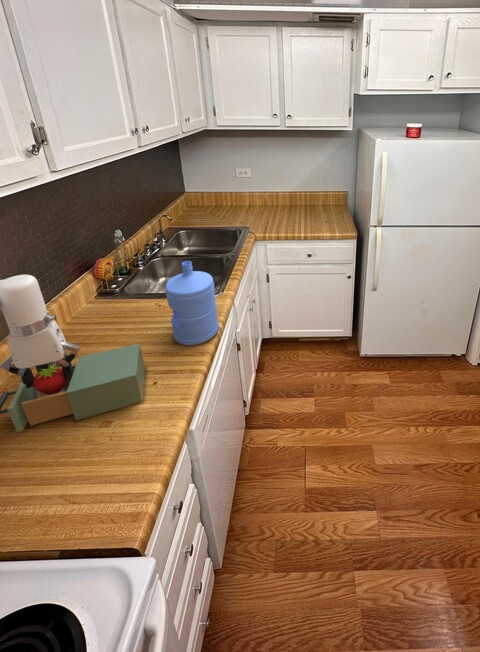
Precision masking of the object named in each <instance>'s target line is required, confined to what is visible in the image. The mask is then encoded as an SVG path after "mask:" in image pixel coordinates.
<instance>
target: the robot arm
mask: <svg viewBox="0 0 480 652" xmlns="http://www.w3.org/2000/svg"><path fill="white" fill-rule="evenodd" d="M0 310H1V311H2V314H3V316H4V319H5V321H6V324H7V327H8V329H9V334H8V346H9V351H10V352H9V353H10V355H9V356H7V357H6V358H5V359H4V360H3V361H2V362H1V363H0V368H1V369H4V370H5V371H8V372H9V373H11V374H14V375H16V376H17V377H18V378H20V379H21V382H22V381H23V384H26V387H27V389H28V388H30V387H31V386H32V384H33V383H32V381H33V378H34V377H35V375H34V373H33V371H32V368H33V367H35V366H37V365H42V364H46V363H51V362H55V361H57V362H59V363H60V364H62V365H63V366H62V371H63V374H64V377H65V379H69V377H70V374H71V373H72V372H73V368H72V365H73V363H72V362H73V360H74V359H75V358H76V356H77V355H78V354H79V352H80V349H81V345H78V344H75V343H71V342H68V341H67V340H66V338H65V335H64V333H63V331H62V329H61V328H60V326H59V324H58V323H57V322H56V321H57V315H56V314H54V315H52V314H50V312H49V311H48V309H47V305H46V303H45V300H44V296H43V294H42V290H41V287H40V284H39V281H38V279H37V278H36V277H35V276H33V275H30V274H18V275H14V276H10V277H6V278H5V279H4V278H3V279H0ZM65 351H70V352H69V354H68V353H67V352H65Z"/></svg>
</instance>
